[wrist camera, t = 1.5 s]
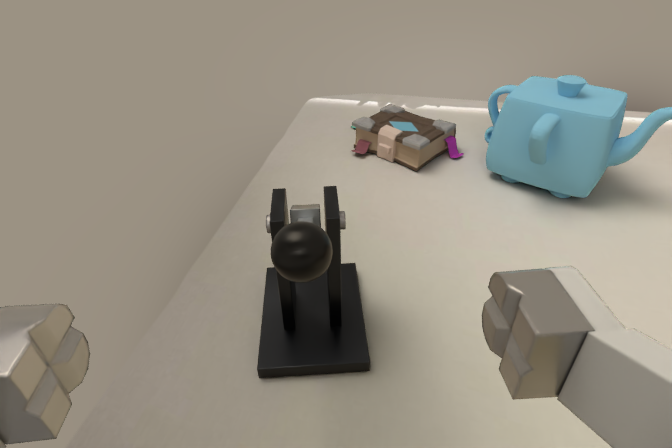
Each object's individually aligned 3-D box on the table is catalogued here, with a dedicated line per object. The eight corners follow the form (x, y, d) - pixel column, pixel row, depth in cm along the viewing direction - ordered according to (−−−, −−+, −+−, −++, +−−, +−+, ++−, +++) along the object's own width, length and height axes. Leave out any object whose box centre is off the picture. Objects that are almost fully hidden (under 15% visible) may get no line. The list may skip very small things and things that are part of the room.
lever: (335, 288, 21) (332, 224, 21) (269, 292, 21) (265, 227, 21) (327, 238, 35) (325, 198, 35) (287, 240, 35) (285, 200, 34)
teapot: (501, 210, 53) (529, 105, 45) (466, 149, 66) (482, 59, 58) (648, 206, 53) (701, 101, 45) (583, 146, 67) (616, 56, 59)
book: (318, 142, 69) (317, 112, 66) (366, 119, 77) (367, 91, 74) (424, 184, 59) (428, 150, 56) (468, 152, 66) (474, 121, 63)
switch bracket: (369, 371, 35) (375, 251, 28) (258, 378, 35) (234, 258, 27) (355, 271, 45) (356, 161, 37) (268, 276, 45) (251, 166, 37)
